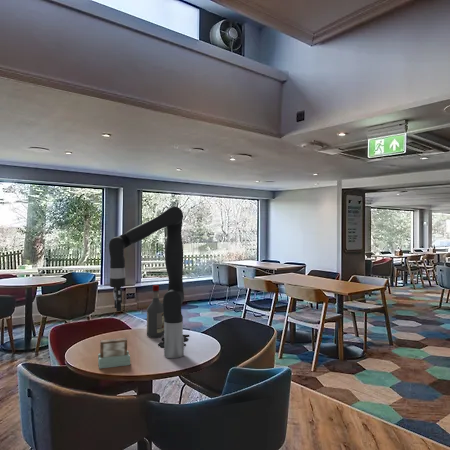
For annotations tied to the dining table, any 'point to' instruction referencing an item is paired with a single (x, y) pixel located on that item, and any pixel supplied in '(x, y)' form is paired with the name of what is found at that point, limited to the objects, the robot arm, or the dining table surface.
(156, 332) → the liquor
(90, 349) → the dining table surface
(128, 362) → the picture ledge
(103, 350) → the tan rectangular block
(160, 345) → the figurine
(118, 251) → the robot arm
